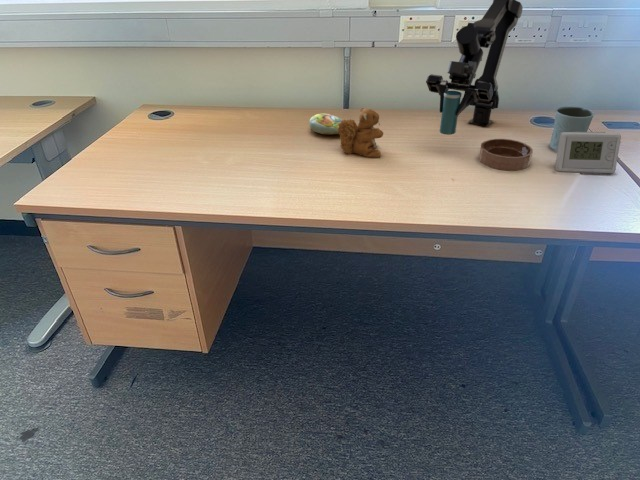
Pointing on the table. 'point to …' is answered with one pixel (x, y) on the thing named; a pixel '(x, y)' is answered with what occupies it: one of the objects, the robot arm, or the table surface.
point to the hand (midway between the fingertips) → (448, 113)
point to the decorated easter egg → (325, 124)
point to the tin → (450, 112)
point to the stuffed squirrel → (361, 134)
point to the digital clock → (587, 152)
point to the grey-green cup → (570, 122)
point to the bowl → (505, 154)
